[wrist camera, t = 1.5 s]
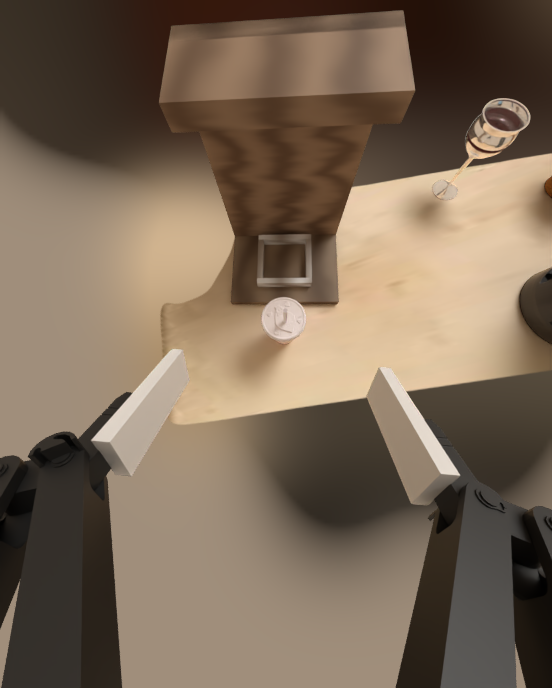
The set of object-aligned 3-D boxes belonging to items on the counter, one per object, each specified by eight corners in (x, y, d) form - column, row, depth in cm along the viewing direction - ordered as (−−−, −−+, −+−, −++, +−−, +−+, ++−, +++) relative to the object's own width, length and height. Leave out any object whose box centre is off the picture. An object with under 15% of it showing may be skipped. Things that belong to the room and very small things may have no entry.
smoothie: (276, 357, 37) (271, 342, 24) (260, 327, 39) (247, 296, 25) (307, 341, 38) (320, 316, 24) (290, 312, 39) (293, 272, 25)
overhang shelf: (334, 229, 42) (403, 10, 17) (337, 303, 39) (426, 165, 14) (236, 231, 43) (171, 25, 18) (232, 303, 40) (147, 174, 15)
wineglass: (455, 173, 43) (519, 94, 31) (467, 200, 42) (538, 127, 30) (423, 179, 43) (475, 102, 31) (434, 206, 42) (492, 136, 30)
